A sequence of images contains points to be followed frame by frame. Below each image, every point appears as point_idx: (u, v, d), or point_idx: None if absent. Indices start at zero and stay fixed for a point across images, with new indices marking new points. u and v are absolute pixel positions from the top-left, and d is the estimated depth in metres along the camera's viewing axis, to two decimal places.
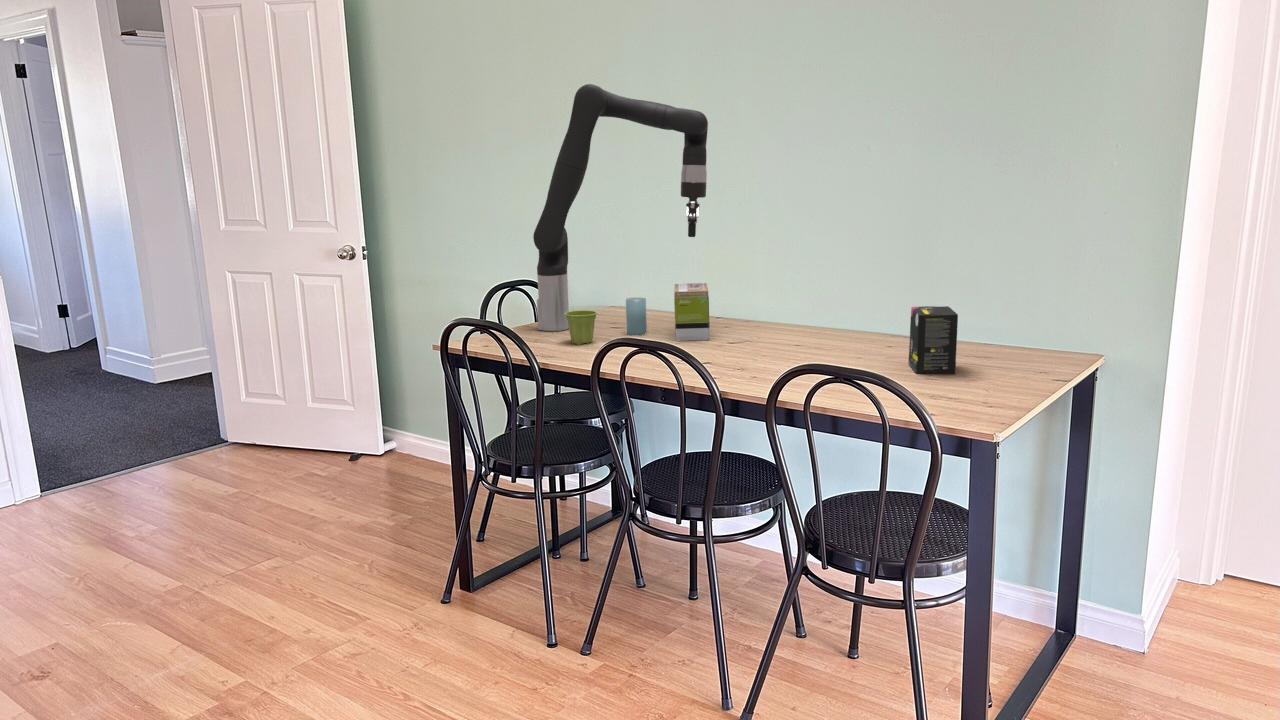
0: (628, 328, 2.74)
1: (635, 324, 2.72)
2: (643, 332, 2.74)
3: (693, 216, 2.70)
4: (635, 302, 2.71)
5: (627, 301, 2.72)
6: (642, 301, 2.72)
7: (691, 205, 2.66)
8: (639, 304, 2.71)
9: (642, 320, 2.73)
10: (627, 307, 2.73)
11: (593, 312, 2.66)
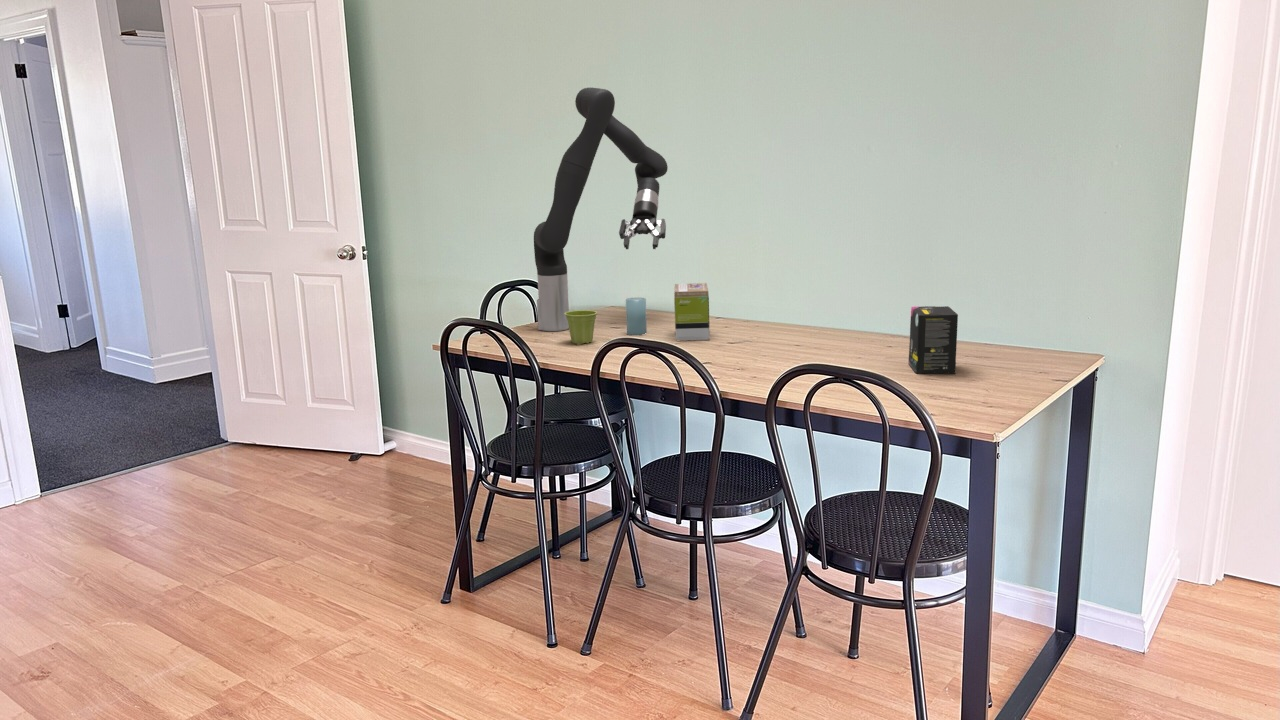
0: (628, 328, 2.74)
1: (635, 324, 2.72)
2: (643, 332, 2.74)
3: None
4: (635, 302, 2.71)
5: (627, 301, 2.72)
6: (642, 301, 2.72)
7: (665, 223, 2.85)
8: (639, 304, 2.71)
9: (642, 320, 2.73)
10: (627, 307, 2.73)
11: (593, 312, 2.66)
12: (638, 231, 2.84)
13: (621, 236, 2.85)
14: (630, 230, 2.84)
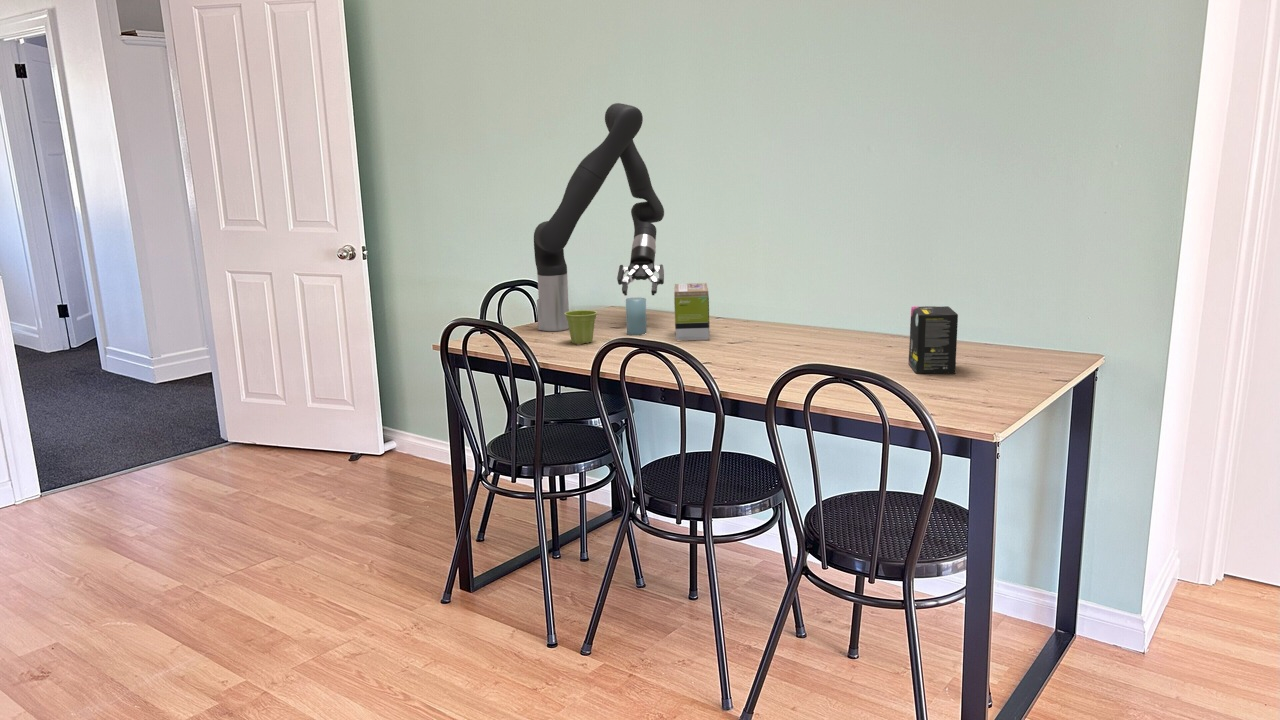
0: (628, 328, 2.74)
1: (635, 324, 2.72)
2: (643, 332, 2.74)
3: None
4: (635, 302, 2.71)
5: (627, 301, 2.72)
6: (642, 301, 2.72)
7: (663, 268, 2.83)
8: (639, 304, 2.71)
9: (642, 320, 2.73)
10: (627, 307, 2.73)
11: (593, 312, 2.66)
12: (636, 277, 2.83)
13: (619, 282, 2.83)
14: (628, 276, 2.82)
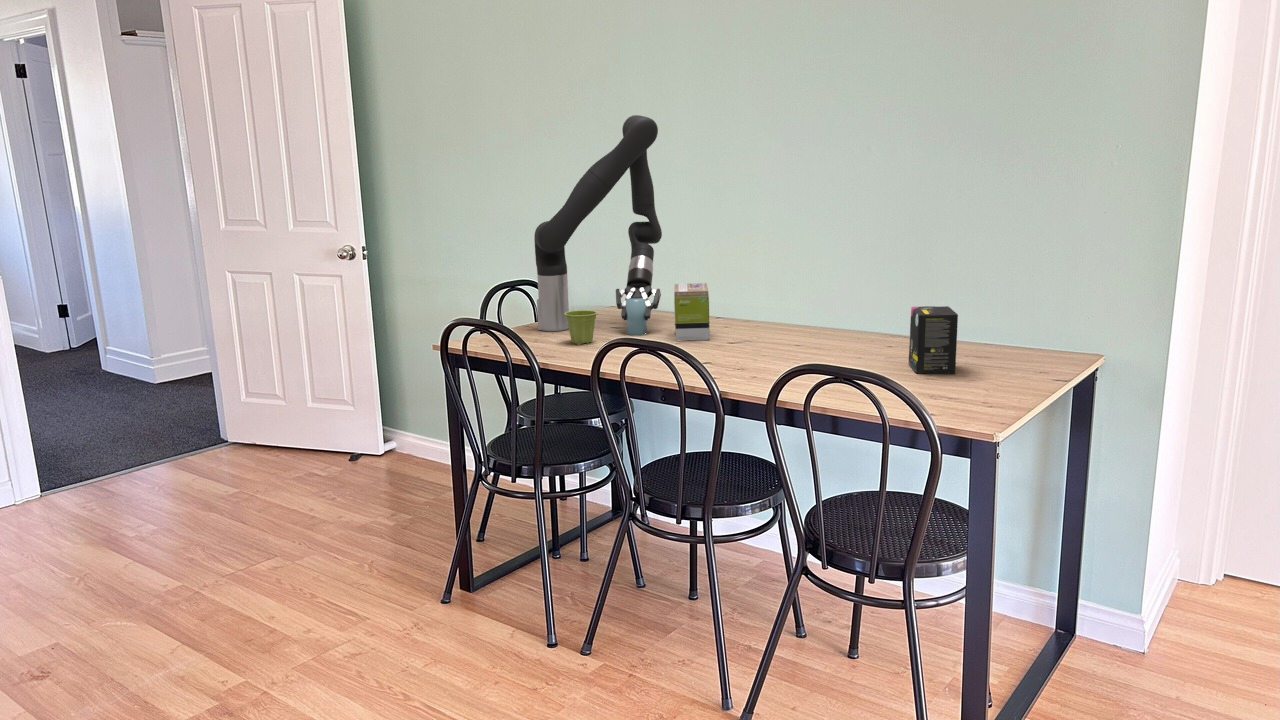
0: (628, 328, 2.74)
1: (635, 324, 2.72)
2: (643, 332, 2.74)
3: None
4: (635, 302, 2.71)
5: (627, 301, 2.72)
6: (642, 301, 2.72)
7: (659, 293, 2.77)
8: (639, 304, 2.71)
9: (642, 320, 2.73)
10: (627, 307, 2.73)
11: (593, 312, 2.66)
12: None
13: (618, 306, 2.76)
14: None
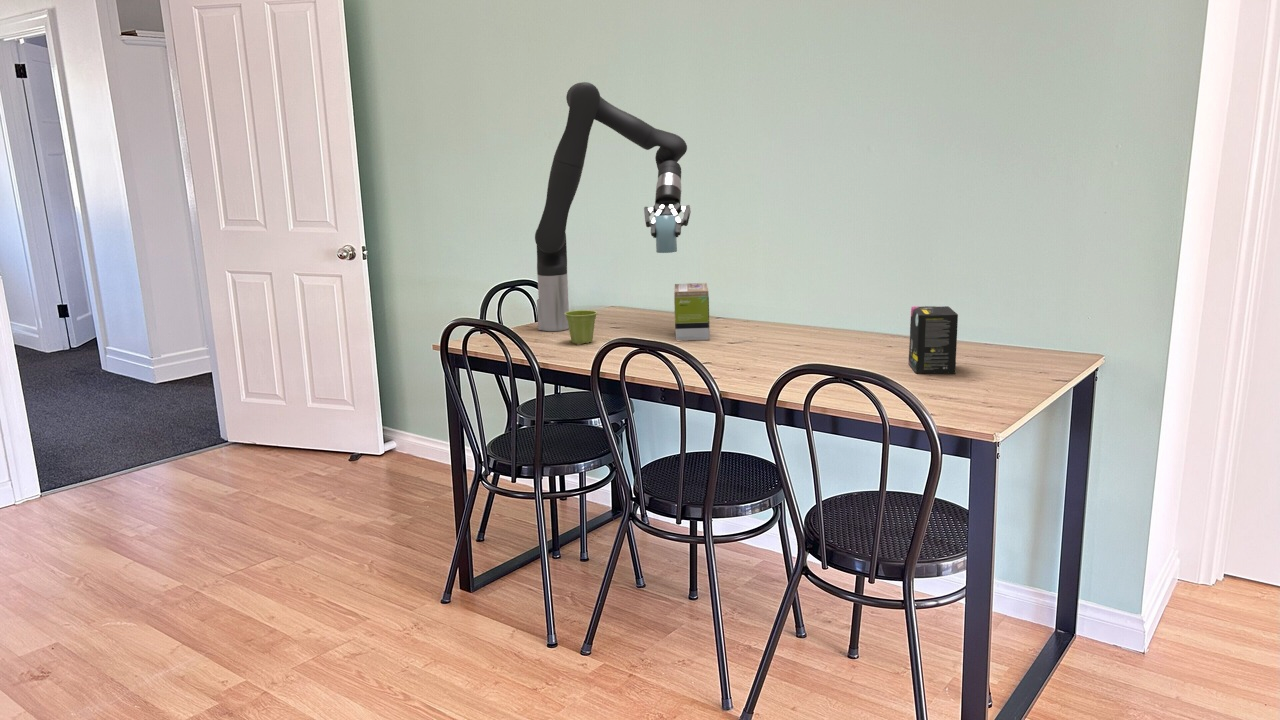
0: (658, 246, 2.66)
1: (665, 241, 2.64)
2: (673, 249, 2.66)
3: None
4: (665, 218, 2.63)
5: (656, 217, 2.64)
6: (672, 217, 2.64)
7: (689, 210, 2.69)
8: (669, 220, 2.63)
9: (672, 237, 2.65)
10: (656, 223, 2.65)
11: (593, 312, 2.66)
12: None
13: (647, 224, 2.68)
14: None
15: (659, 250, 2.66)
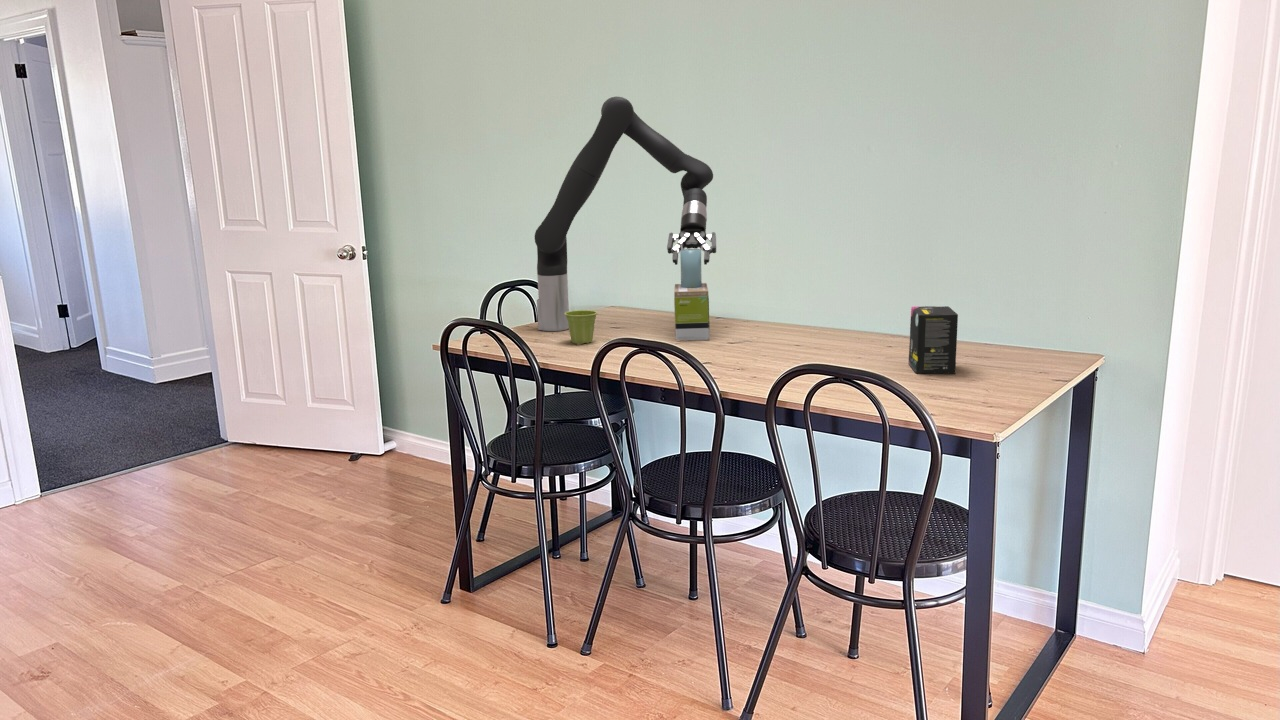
0: (682, 280, 2.65)
1: (690, 276, 2.64)
2: (698, 284, 2.65)
3: None
4: (690, 253, 2.62)
5: (682, 252, 2.64)
6: (697, 252, 2.63)
7: (715, 236, 2.68)
8: (694, 255, 2.63)
9: (697, 272, 2.64)
10: (682, 258, 2.64)
11: (593, 312, 2.66)
12: (687, 245, 2.68)
13: (669, 250, 2.68)
14: (679, 244, 2.67)
15: (684, 285, 2.65)
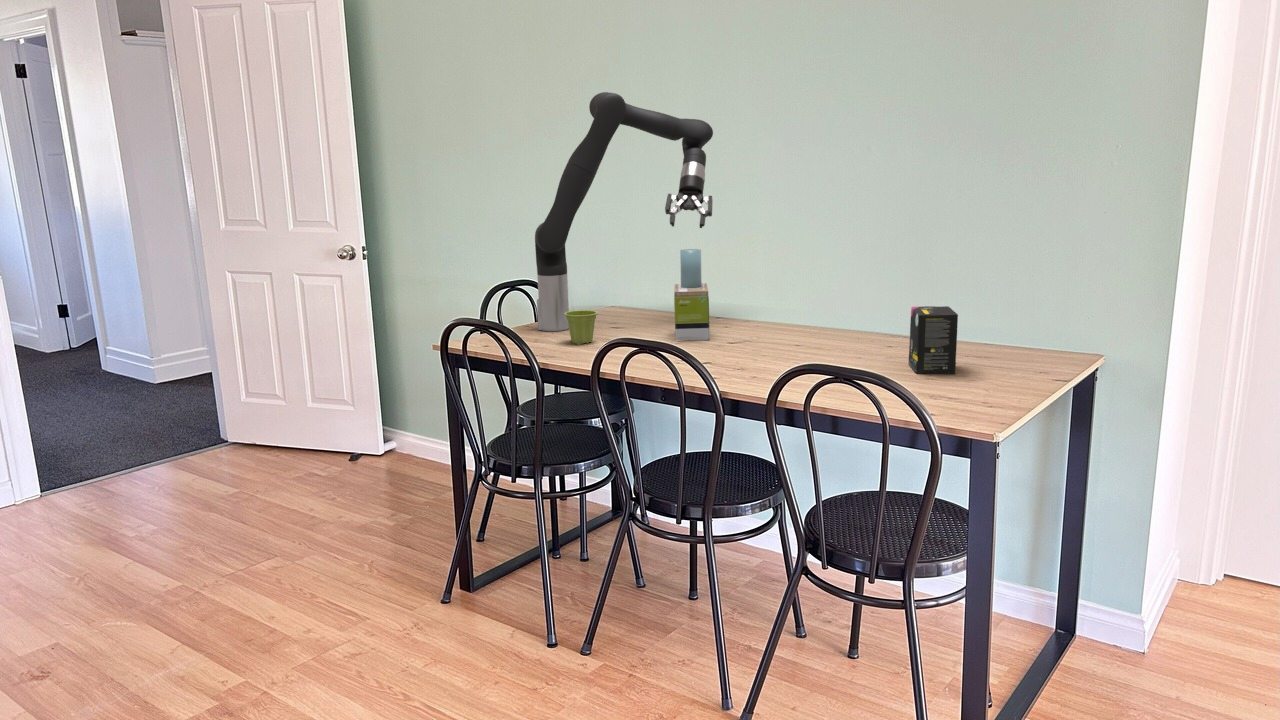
0: (682, 280, 2.65)
1: (690, 276, 2.64)
2: (698, 284, 2.65)
3: None
4: (691, 253, 2.62)
5: (682, 252, 2.64)
6: (698, 252, 2.63)
7: (712, 200, 2.79)
8: (695, 255, 2.63)
9: (697, 272, 2.64)
10: (682, 258, 2.64)
11: (593, 312, 2.66)
12: (684, 207, 2.79)
13: (667, 212, 2.79)
14: (676, 206, 2.78)
15: (684, 285, 2.65)
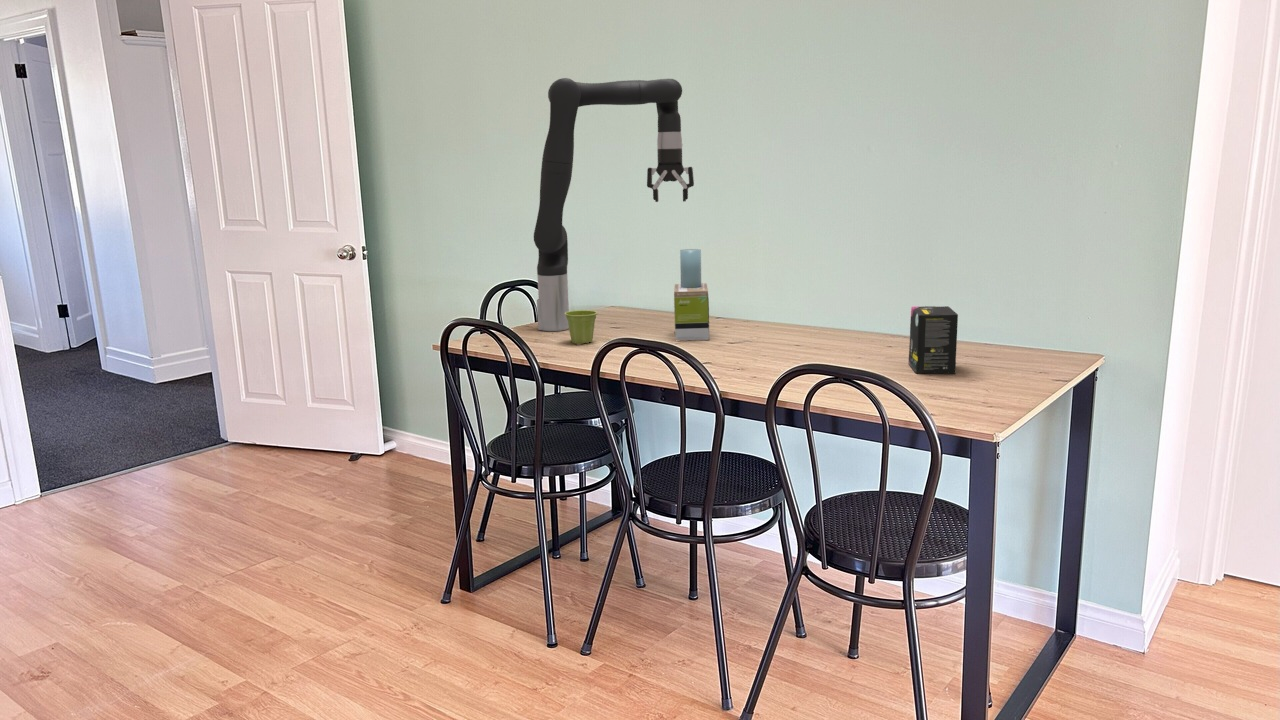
0: (682, 280, 2.65)
1: (690, 276, 2.64)
2: (698, 284, 2.65)
3: None
4: (690, 253, 2.62)
5: (682, 252, 2.64)
6: (697, 252, 2.63)
7: (692, 170, 2.79)
8: (694, 255, 2.63)
9: (697, 272, 2.64)
10: (682, 258, 2.64)
11: (593, 312, 2.66)
12: (666, 181, 2.81)
13: (649, 187, 2.83)
14: (658, 183, 2.81)
15: (684, 285, 2.65)
